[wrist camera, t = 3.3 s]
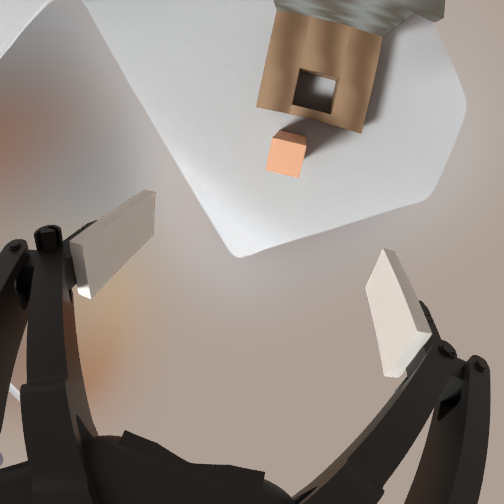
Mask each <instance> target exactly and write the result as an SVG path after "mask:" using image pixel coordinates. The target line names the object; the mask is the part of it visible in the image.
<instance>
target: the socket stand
mask: <svg viewBox="0 0 504 504" xmlns="http://www.w3.org/2000/svg"><path fill="white" fill-rule="evenodd" d="M274 3H275V6H276V9H277V12H276V17H275V21H274V26H273V30H272V35H271V39H270V44H269V48H268V53H267V58H266V62H265V67H264V72H263V77H262V82H261V87H260V91H259V96H258V101H257V106H256V107H258V108H264V109H269V110H274V111H278V112H283V113H287V114H292V115H296V116H300V117H304V118H308V119H312V120H316V121H320V122H324V123H327V124H331V125H334V126H338V127H341V128H345V129H348V130H351V131H354V132H358V133H361V132H362V128H363V124H364V120H365V116H366V112H367V108H368V104H369V100H370V96H371V91H372V87H373V83H374V78H375V73H376V69H377V64H378V59H379V54H380V49H381V44H382V38H383V37H384V36H385V35H386V34H388V33H389V32H390V31H391V30H393V29H394V28H395V27H396V26H398V25H399V24H400V23H402V22H403V21H404V20H406V19H407V18H408V17H410V16H411V15H412V14H414V13H416V14H418V15H420V16H422V17H425V18H427V19H429V20H431V21H433V22H437V21H439V20H440V19H442V18H443V17H444V9H445V0H274ZM300 72H304V73H308V74H312V75H317V76H320V77H324V78H328V79H332V80H335V81H336V84H335V88H334V93H333V97H332V101H331V106H330V110H329V114H327V113H324V112H320V111H316V110H312V109H308V108H304V107H300V106H296V105H293V101H294V97H295V92H296V87H297V83H298V78H299V74H300Z"/></svg>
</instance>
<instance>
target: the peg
mask: <svg viewBox="0 0 504 504" xmlns="http://www.w3.org/2000/svg"><path fill="white" fill-rule="evenodd" d="M306 146H307V145H306V136H302V135H298V134H294V133H289V132H285V131H281V130H279V131H278V132H277V134H276V135H275V136H274V137H273V138H272V142H271V147H270V152H269V156H268V161H267V166H266V170H268V171H272V172H276V173H280V174H285V175H289V176H293V177H297V178H299V175H300V171H301V167H302V163H303V159H304V154H305V150H306Z"/></svg>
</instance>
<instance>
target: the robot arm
mask: <svg viewBox="0 0 504 504" xmlns="http://www.w3.org/2000/svg"><path fill="white" fill-rule="evenodd" d="M154 211H155V192H153V191H147V190H143V191H141V192H140V193H138V194H137V195H135V196H133V197H132V198H130V199H129V200H127V201H126V202H124V203H123V204H121V205H120V206H118V207H117V208H115V209H114V210H112V211H111V212H109V213H108V214H106V215H105V216H103V217H102V218H100V219H99V220H96V221H93V222H90V223H88V224H86V225H85V226H83V227H82V228H81V229H79V230H78V231H76V233H74V234H72V235H71V236H69V237H68V238H67V239H65V240H64V241H63V240H62V233H61V228H60V227H59V226H56V225H47V226H44V227H41V228H39V229H38V230H36V231H35V233H34V238H35V243H36V248H37V250H28V245H27V242H26V241H25V240H22V239H15V240H12V241H11V242H9V243H8V244H7V245H6V246H5V247H4V248H3V250H2V251H1V253H0V433H1V429H2V424H3V419H4V412H5V406H6V401H7V395H8V390H9V386H10V381H11V377H12V372H13V368H14V364H15V361H16V357H17V353H18V349H19V346H20V343H21V340H22V336H23V333H24V330H25V327H26V324H27V321H28V327H27V383H26V384H24V385H22V386H21V388H20V401H21V413H22V423H23V432H24V439H25V445H26V451H27V457H28V461H25V462H22V463H19V464H16V465H12V466H9V467H5V468H2V469H0V504H377V503H378V501H379V500H380V499H381V497H382V496H383V494H384V490H383V489H382V488H383V486H384V484H385V483H386V481H387V480H388V479H389V477H390V476H391V475H392V474H393V472H394V471H395V469H396V468H397V467H398V465H399V464H400V462H401V461H402V459H403V458H404V457H405V455H406V454H407V452H408V450H409V449H410V447H411V446H412V444H413V443H414V441H415V439H416V438H417V436H418V435H419V433H420V431H421V430H422V428H423V426H424V424H425V423H426V421H427V419H428V418H429V416H430V414H431V412H432V410H433V408H434V412H433V416H432V420H431V425H430V428H429V432H428V436H427V440H426V443H425V447H424V450H423V453H422V457H421V460H420V463H419V466H418V469H417V472H416V475H415V477H414V480H413V483H412V485H411V488H410V491H409V493H408V495H407V498H406V500H405V503H404V504H477V503H478V499H479V494H480V490H481V486H482V481H483V475H484V469H485V463H486V455H487V448H488V437H489V424H490V369H489V366H488V364H487V362H486V361H485V360H484V359H483V358H481V357H480V356H477V355H473V356H471V357H470V359H469V360H468V361H467V362H466V361H464V360H461V359H459V358H457V354H456V351H455V349H454V348H453V347H452V346H451V345H450V344H449V343H448V342H446V341H444V340H441V338H440V335H439V333H438V331H437V328H436V326H435V323H433V322H434V321H433V319H432V317H431V314H430V312H429V310H428V308H427V307H426V306H425V305H424V303H423V302H422V301H419V300H418V299H417V296H416V294H415V292H414V290H413V288H412V286H411V283H410V281H409V279H408V277H407V275H406V273H405V271H404V269H403V267H402V265H401V263H400V261H399V259H398V257H397V255H396V253H395V252H394V251H392V250H388V249H385V248H383V249H382V252H381V254H380V256H379V259H378V261H377V263H376V265H375V268H374V270H373V272H372V274H371V277H370V279H369V281H368V283H367V285H366V287H365V288H366V292H367V296H368V300H369V304H370V309H371V313H372V317H373V322H374V326H375V330H376V335H377V340H378V345H379V350H380V355H381V360H382V366H383V371H384V376H388V377H397V378H398V377H400V375H401V374H402V373H403V372H404V371H405V369H406V371H407V377H406V378H405V380H404V381H403V382H402V383H401V384H400V385H399V386H398V388H397V389H396V390H395V393H394V394H393V396H392V397H391V398H390V399H389V401H388V402H387V403H386V405H385V406H384V407H383V408H382V410H381V411H380V412H379V413H378V414H377V416H376V417H375V418H374V419H373V420H372V422H371V423H370V424H369V425H368V426H367V427H366V428H365V430H364V431H363V432H362V433H361V434H360V435H359V436H358V437H357V439H356V440H355V441H354V442H353V443H352V444H351V445H350V446H349V447H348V448H347V449H346V450H345V451H344V452H343V453H342V454H341V455H340V456H339V457H338V458H337V459H336V460H335V461H334V462H333V463H332V464H331V465H330V466H329V467H328V468H327V469H326V470H325V471H324V472H323V473H321V474H320V475H319V476H318V477H317V478H316V479H315V480H314V481H312V482H311V483H310V484H309V485H307V486H306V487H305V488H303V489H302V490H301V491H299V492H298V493H297V494H296V495H294V496H293V497H290V496H289V495H288V494H287V493H286V492H285V491H284V490H283V489H281V488H280V487H278V486H277V485H275V484H273V483H271V482H270V481H267V480H265V479H264V475H265V472H262V471H257V470H251V469H246V468H241V467H237V466H232V465H212V464H194V463H189V462H187V461H185V460H183V459H182V458H180V457H178V456H177V455H175V454H173V453H172V452H170V451H169V450H167V449H165V448H164V447H162V446H161V445H159V444H158V443H155V442H153V441H150V440H148V439H145V438H142V437H140V436H138V435H135V434H133V433H130V432H128V431H126V430H125V431H124V433H123V435H122V437H120V436H111V435H107V436H98V433H97V431H96V428H95V426H94V424H93V421H92V417H91V413H90V409H89V405H88V401H87V396H86V391H85V386H84V381H83V376H82V371H81V365H80V358H79V352H78V344H77V335H76V327H75V315H74V302H73V292H72V287H73V286H75V284H77V288H78V292H79V294H81V295H83V296H85V297H88V298H90V299H92V298H93V297H94V295H95V294H96V293H97V292H98V291H99V290H100V289H101V288H102V287H103V286H104V285H105V284H106V283H107V281H108V280H109V279H110V278H111V277H112V276H113V275H114V274H115V273H116V272H117V271H118V270H119V269H120V268H121V267H122V266H123V265H124V264H125V263H126V262H127V261H128V260H129V259H130V258H131V256H133V254H135V252H136V251H138V249H140V248H141V247H142V246H143V244H145V243H146V242H147V241H148V240H149V239H150V238H151V237H152V236H153V235H154V213H155V212H154ZM434 406H435V407H434ZM2 463H3V456H2V454H1V453H0V465H2Z"/></svg>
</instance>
